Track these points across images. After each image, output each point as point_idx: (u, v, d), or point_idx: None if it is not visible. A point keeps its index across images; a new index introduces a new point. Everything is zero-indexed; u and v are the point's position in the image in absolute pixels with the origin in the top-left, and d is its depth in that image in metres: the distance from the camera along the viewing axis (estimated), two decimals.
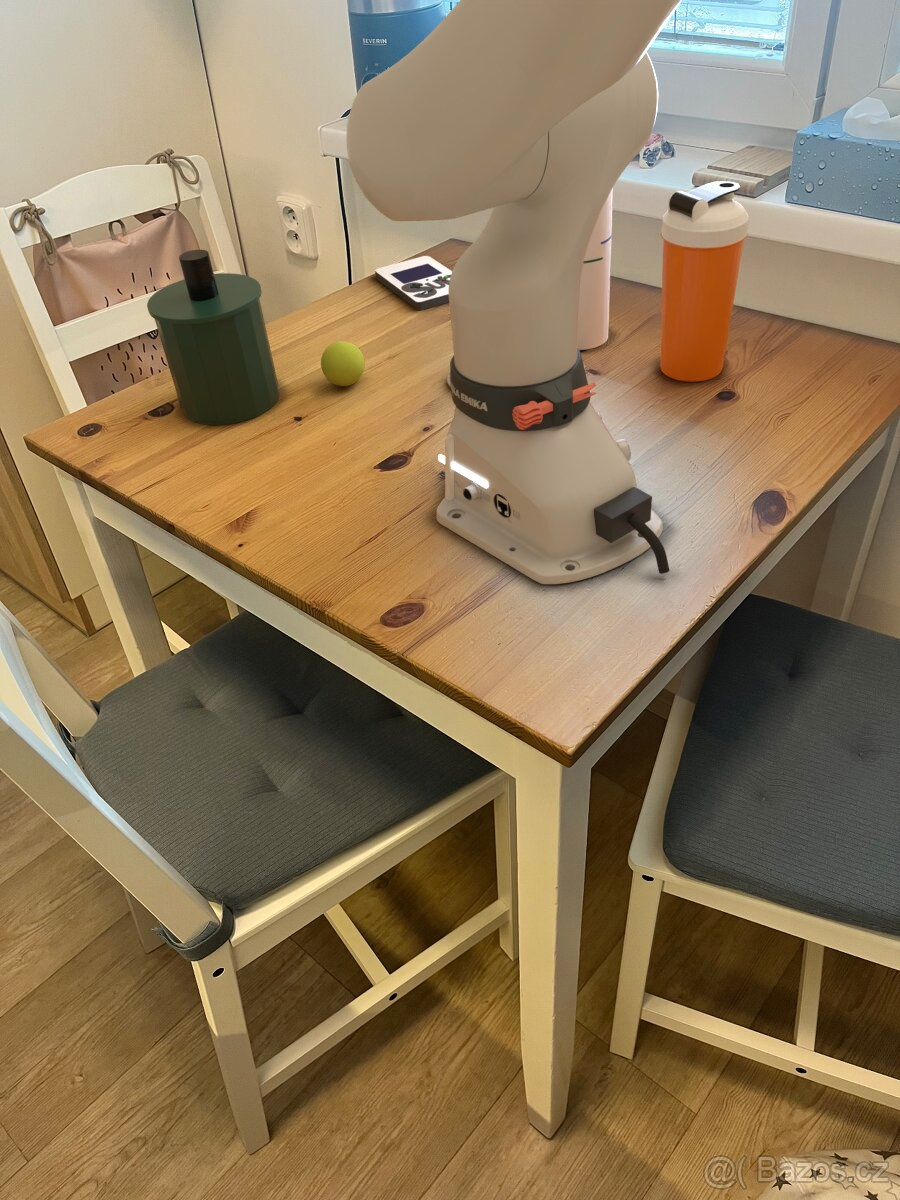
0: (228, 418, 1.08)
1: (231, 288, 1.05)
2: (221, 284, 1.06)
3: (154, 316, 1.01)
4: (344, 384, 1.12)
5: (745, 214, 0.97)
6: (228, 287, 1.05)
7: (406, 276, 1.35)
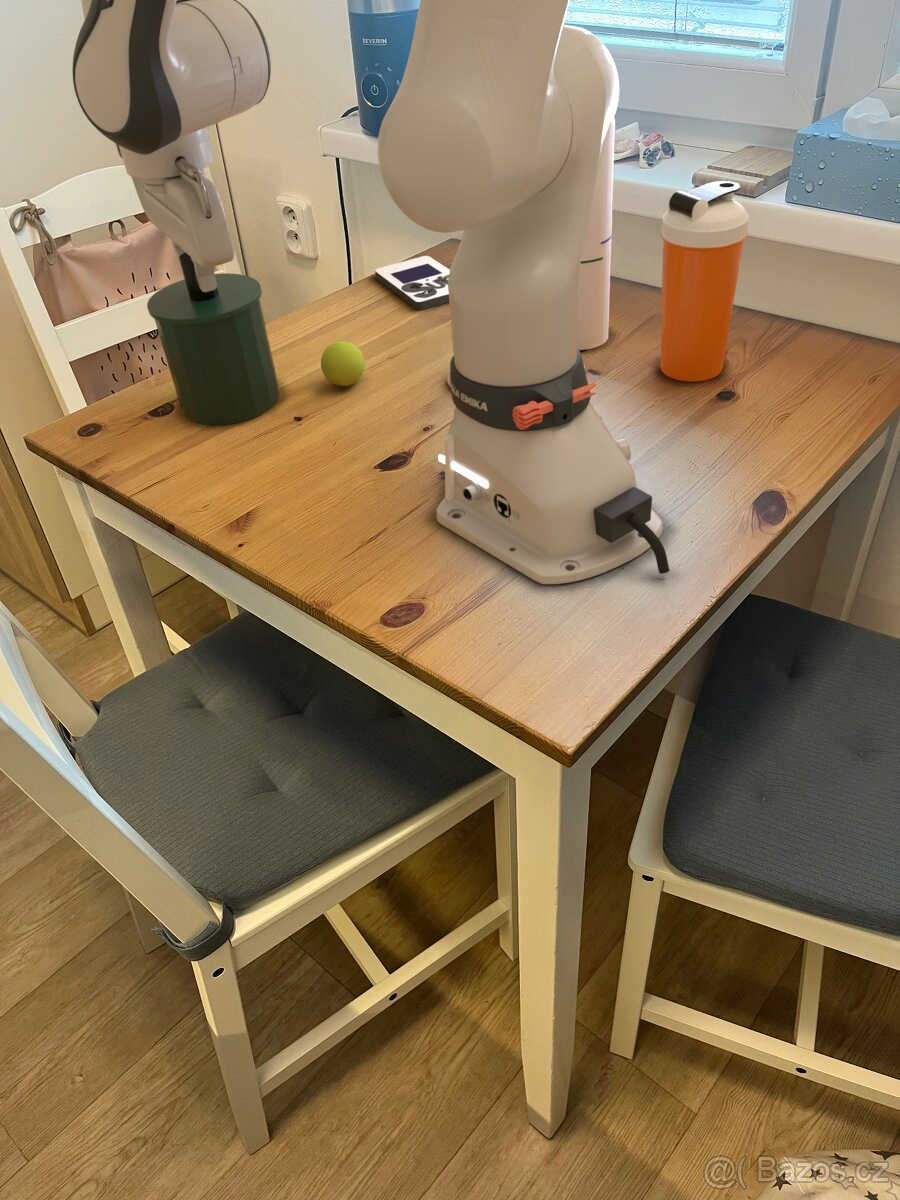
0: (228, 418, 1.08)
1: (231, 288, 1.05)
2: (221, 284, 1.06)
3: (154, 316, 1.01)
4: (344, 384, 1.12)
5: (745, 214, 0.97)
6: (228, 287, 1.05)
7: (406, 276, 1.35)
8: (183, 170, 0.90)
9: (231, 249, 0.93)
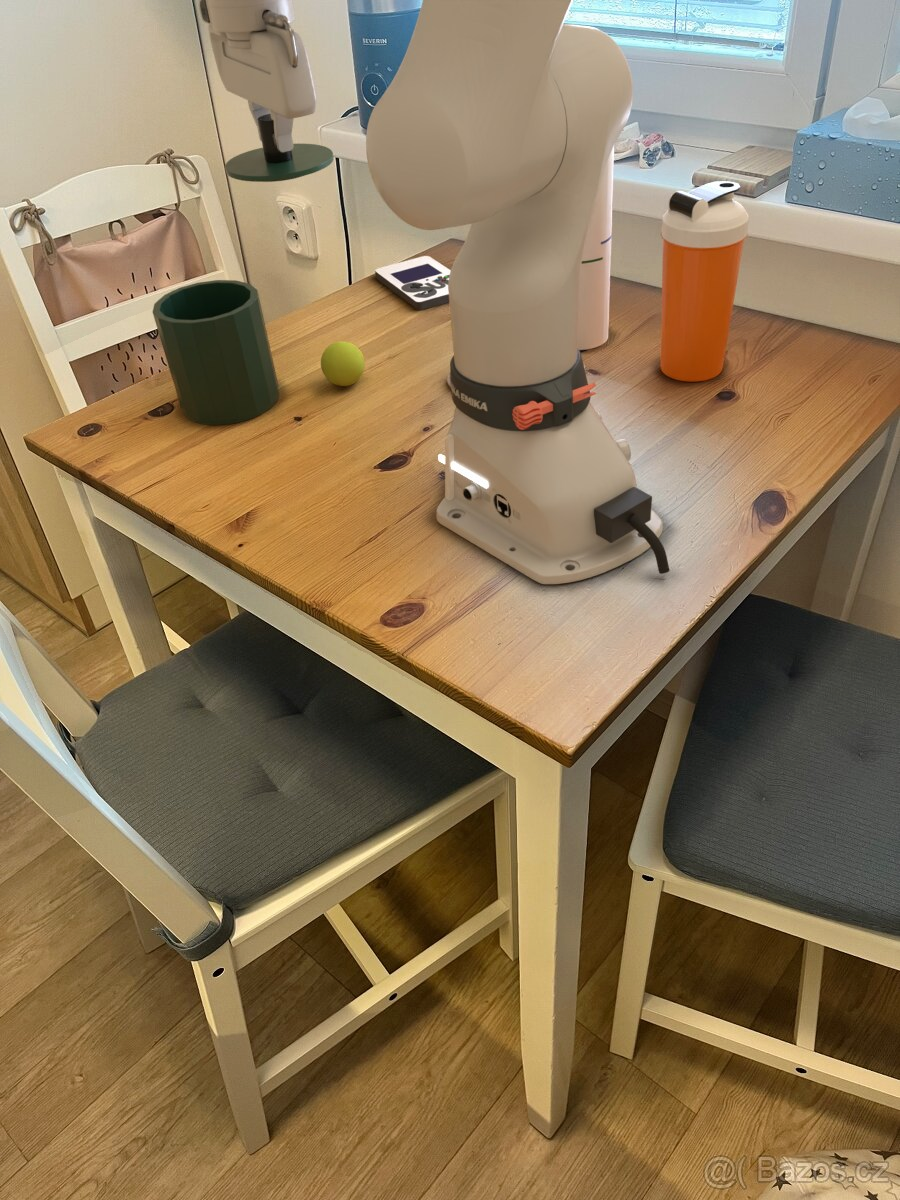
0: (228, 418, 1.08)
1: (304, 153, 1.10)
2: (294, 151, 1.11)
3: (233, 175, 1.06)
4: (344, 384, 1.12)
5: (745, 214, 0.97)
6: (301, 153, 1.10)
7: (406, 276, 1.35)
8: (271, 21, 0.95)
9: (314, 100, 0.98)
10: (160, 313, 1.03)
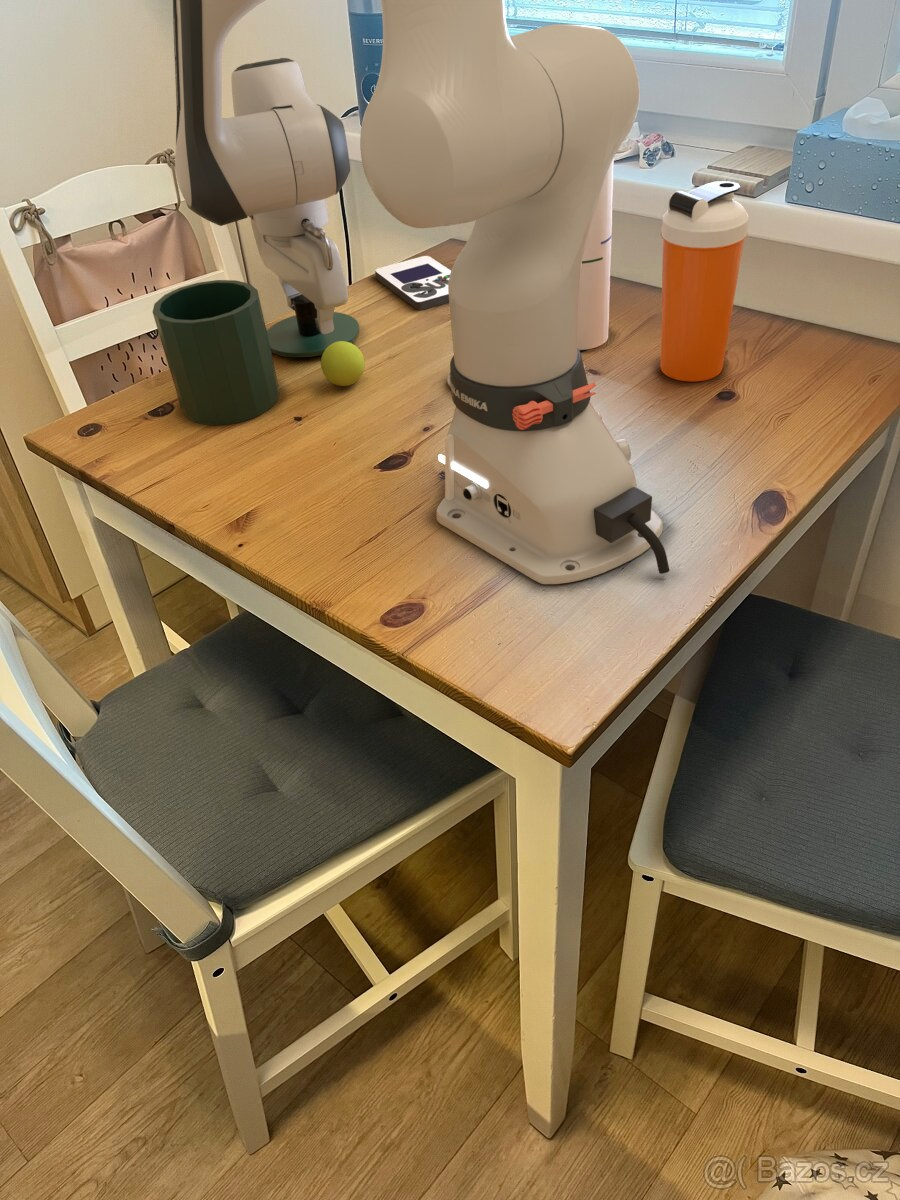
0: (228, 418, 1.08)
1: None
2: None
3: (272, 350, 1.20)
4: (344, 384, 1.12)
5: (745, 214, 0.97)
6: None
7: (406, 276, 1.35)
8: (309, 230, 1.09)
9: (346, 295, 1.12)
10: (160, 313, 1.03)
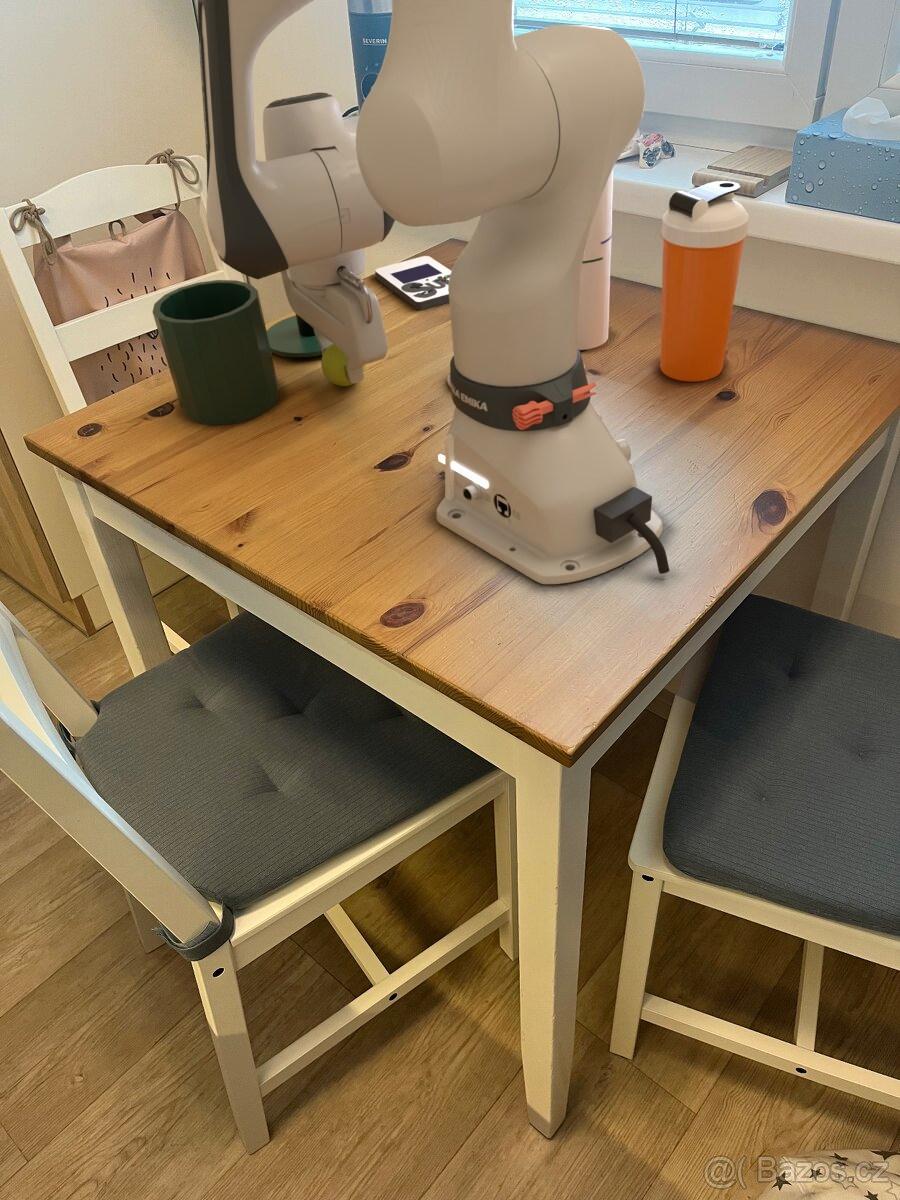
0: (228, 418, 1.08)
1: None
2: None
3: (272, 350, 1.20)
4: (344, 384, 1.12)
5: (745, 214, 0.97)
6: None
7: (406, 276, 1.35)
8: (346, 280, 0.99)
9: (385, 348, 1.02)
10: (160, 313, 1.03)
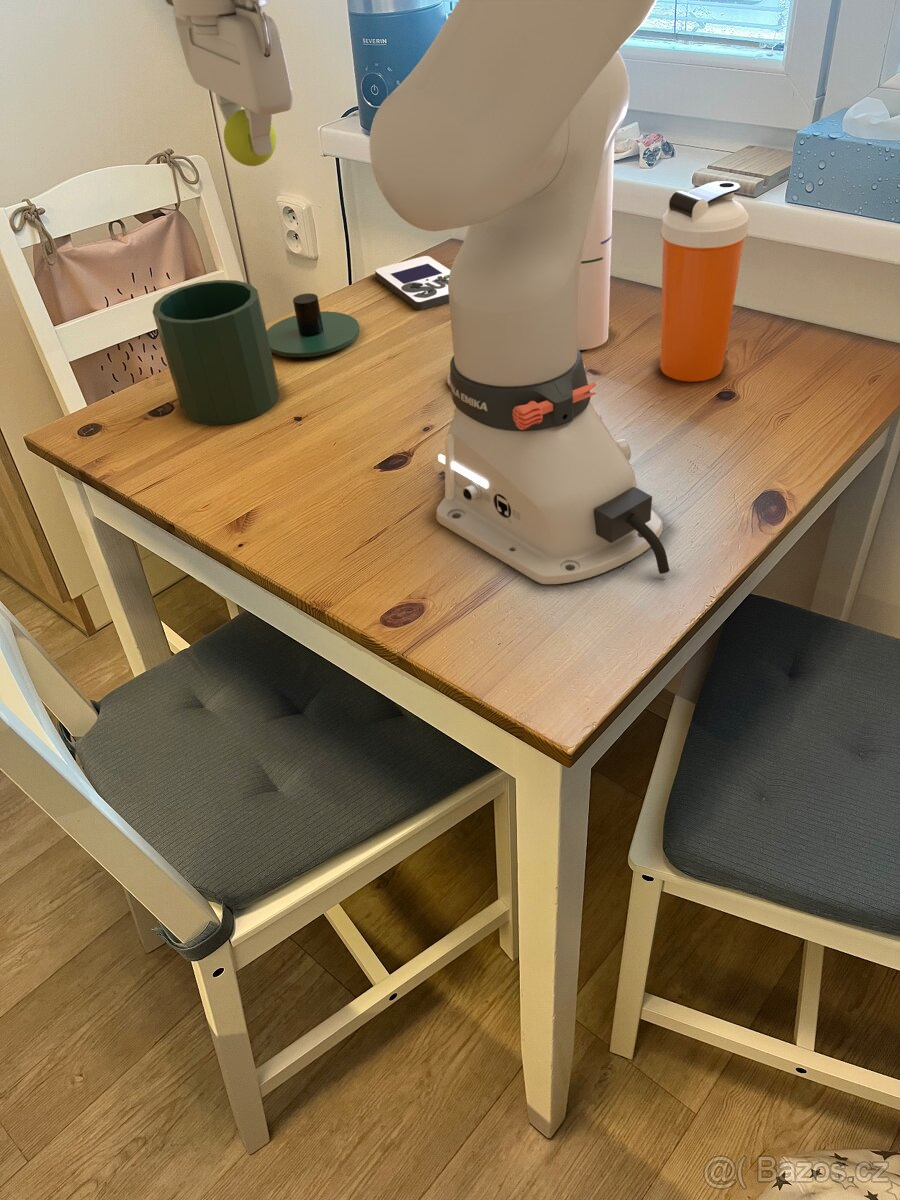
0: (228, 418, 1.08)
1: (333, 325, 1.24)
2: (324, 321, 1.25)
3: (272, 350, 1.20)
4: (251, 161, 0.95)
5: (745, 214, 0.97)
6: (330, 324, 1.24)
7: (406, 276, 1.35)
8: (240, 3, 0.82)
9: (290, 95, 0.85)
10: (160, 313, 1.03)
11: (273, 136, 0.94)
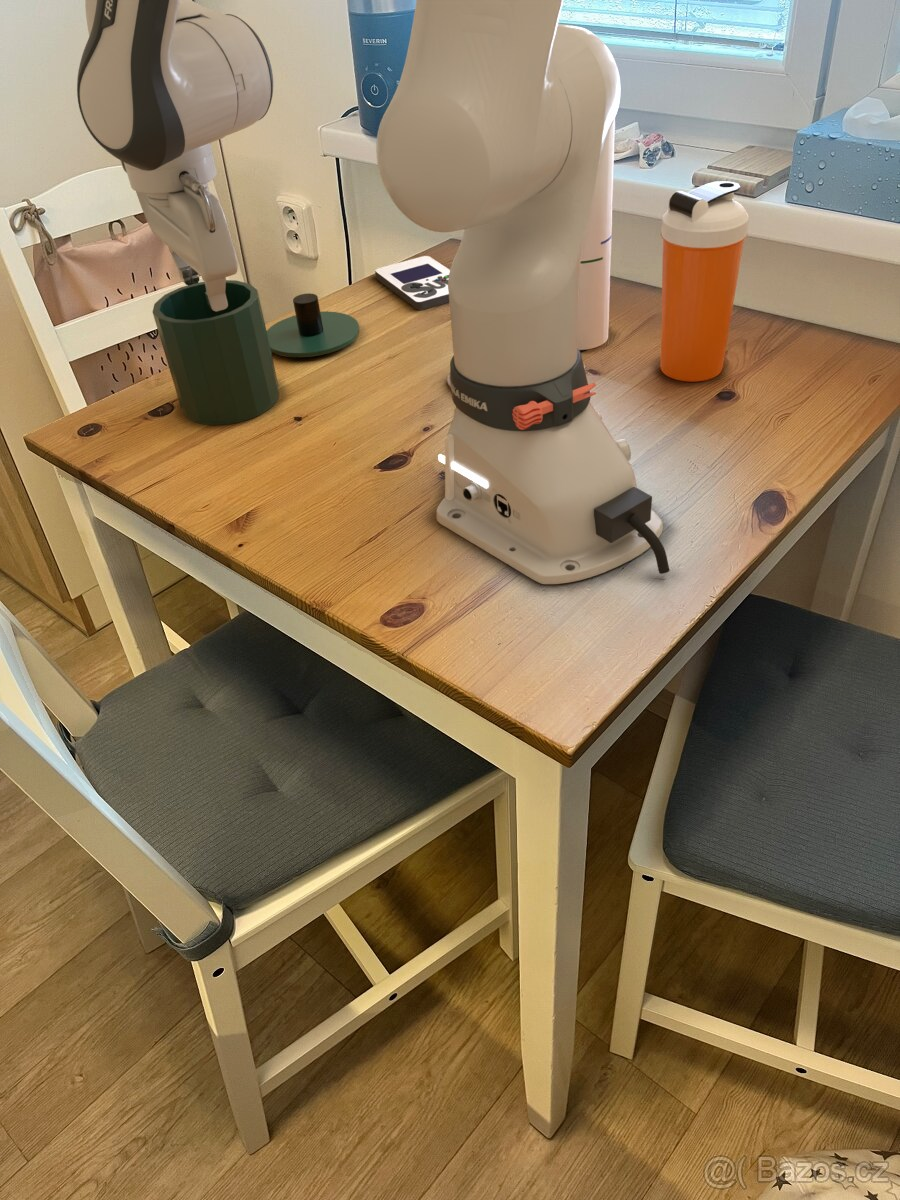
0: (228, 418, 1.08)
1: (333, 325, 1.24)
2: (324, 321, 1.25)
3: (272, 350, 1.20)
4: None
5: (745, 214, 0.97)
6: (330, 324, 1.24)
7: (406, 276, 1.35)
8: (187, 185, 0.91)
9: (234, 262, 0.94)
10: (160, 313, 1.03)
11: None
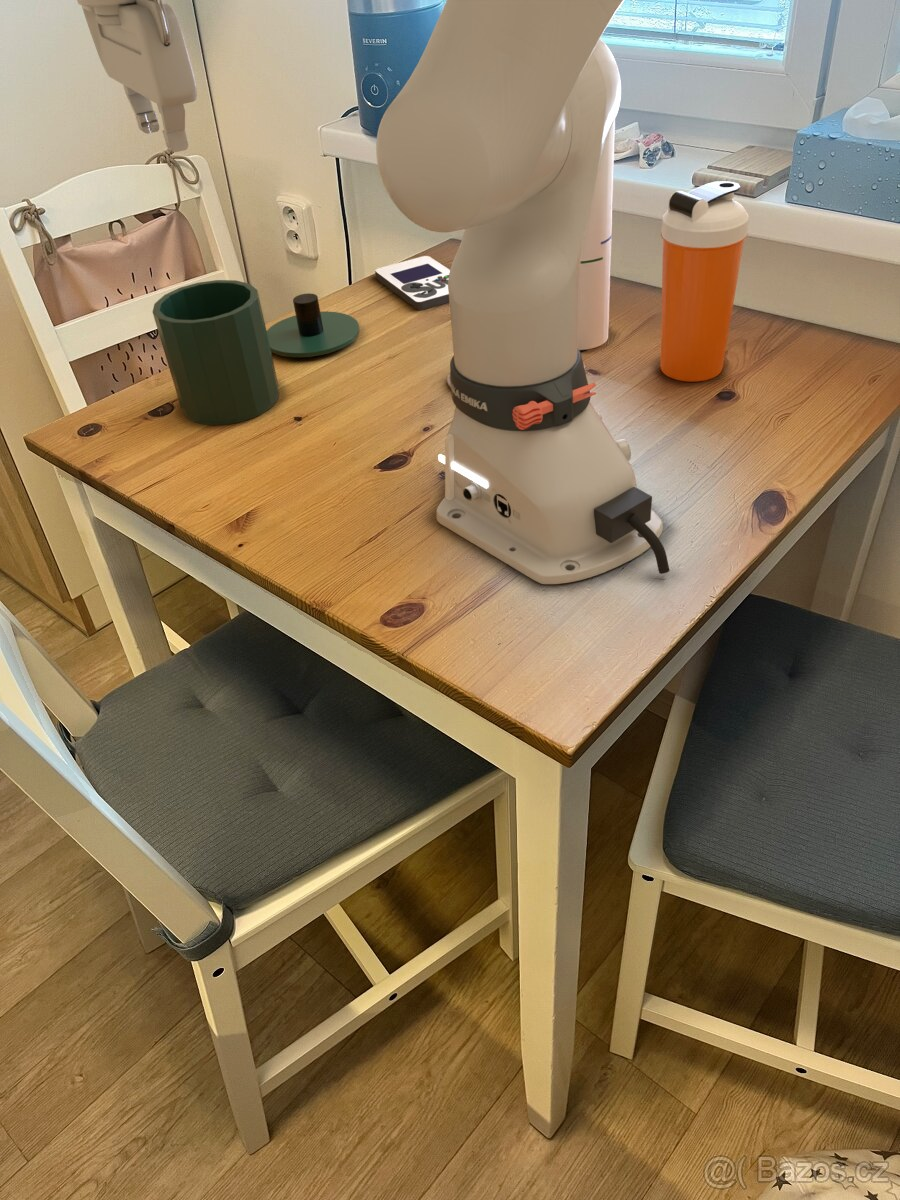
0: (228, 418, 1.08)
1: (333, 325, 1.24)
2: (324, 321, 1.25)
3: (272, 350, 1.20)
4: None
5: (745, 214, 0.97)
6: (330, 324, 1.24)
7: (406, 276, 1.35)
8: None
9: (193, 85, 0.83)
10: (160, 313, 1.03)
11: None
